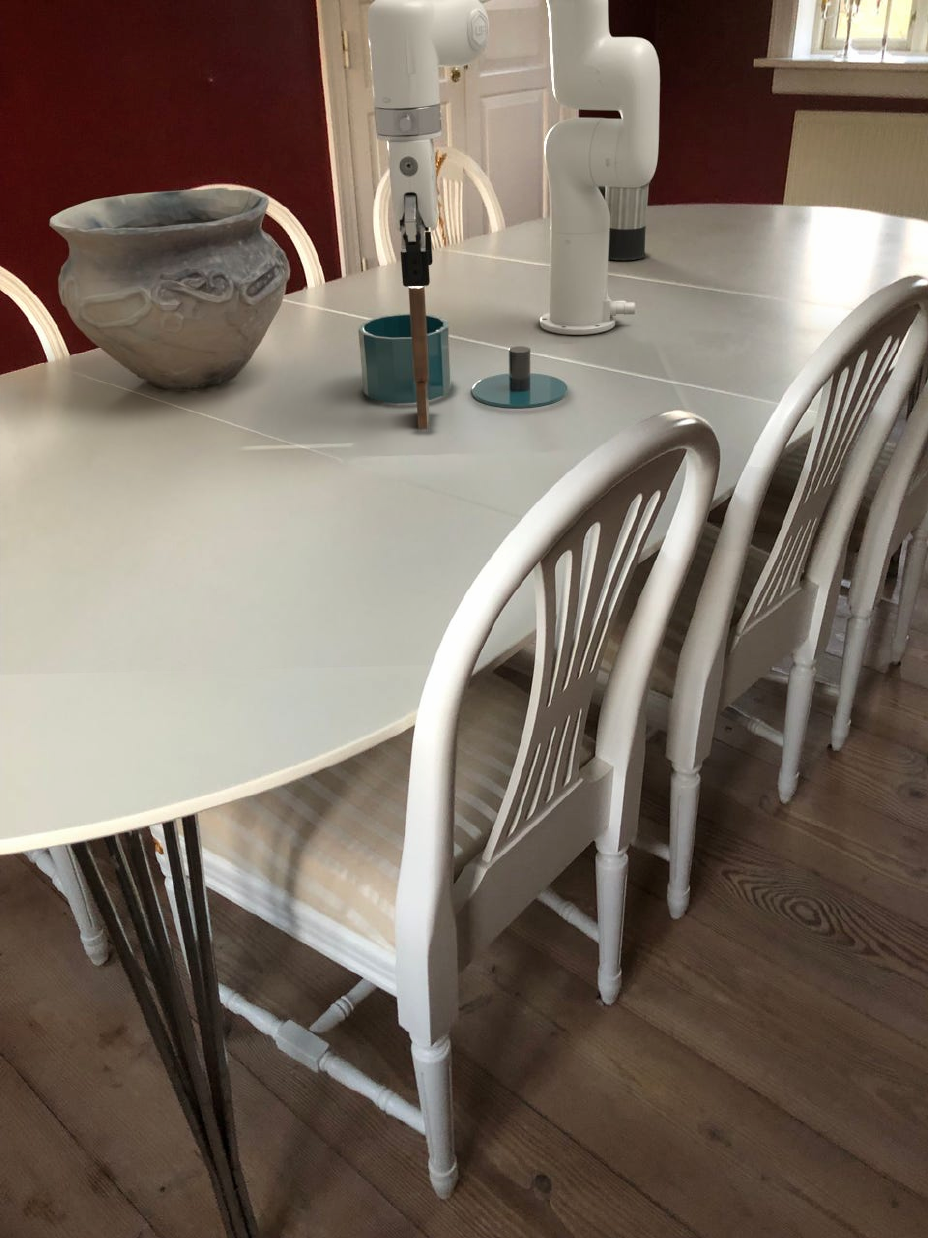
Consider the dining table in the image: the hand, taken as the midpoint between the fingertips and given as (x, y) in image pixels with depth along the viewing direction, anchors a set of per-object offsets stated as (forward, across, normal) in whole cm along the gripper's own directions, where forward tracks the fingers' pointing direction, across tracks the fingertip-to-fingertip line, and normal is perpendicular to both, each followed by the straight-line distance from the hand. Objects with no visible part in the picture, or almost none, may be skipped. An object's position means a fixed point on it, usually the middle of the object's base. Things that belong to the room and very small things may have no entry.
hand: (418, 274), depth 128 cm
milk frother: (+21, +91, -34) cm, 100 cm away
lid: (+19, +9, -13) cm, 25 cm away
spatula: (+19, -1, 0) cm, 19 cm away
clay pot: (+20, +21, +36) cm, 46 cm away
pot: (+19, +12, +3) cm, 23 cm away
